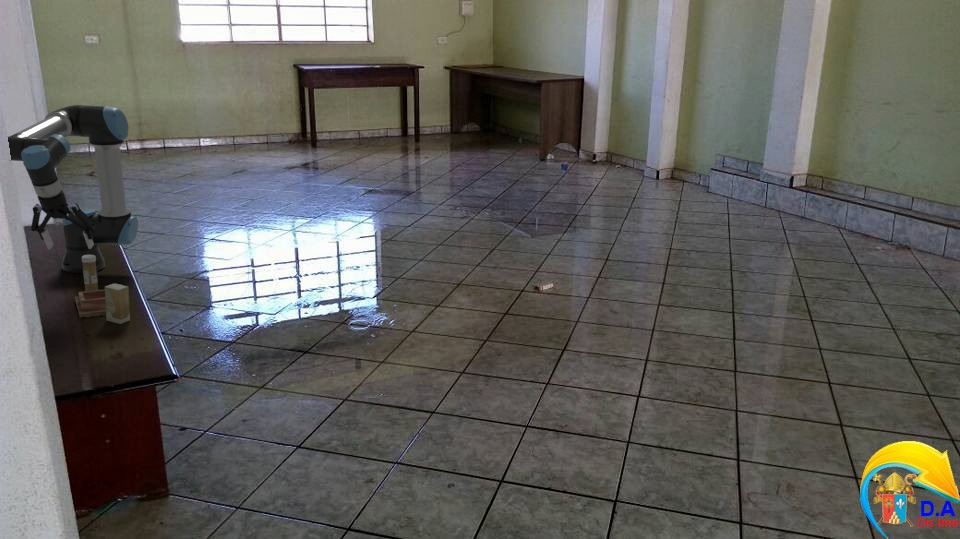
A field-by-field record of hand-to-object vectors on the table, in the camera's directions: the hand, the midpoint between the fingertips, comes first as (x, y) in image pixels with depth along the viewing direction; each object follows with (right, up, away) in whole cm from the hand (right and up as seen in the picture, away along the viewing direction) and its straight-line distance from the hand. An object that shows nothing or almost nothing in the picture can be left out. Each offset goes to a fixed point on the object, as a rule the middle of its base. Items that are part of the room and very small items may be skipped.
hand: (71, 246), depth 251 cm
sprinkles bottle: (-4, -16, +21) cm, 27 cm away
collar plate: (+5, -21, +7) cm, 22 cm away
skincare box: (+18, -25, -3) cm, 31 cm away
